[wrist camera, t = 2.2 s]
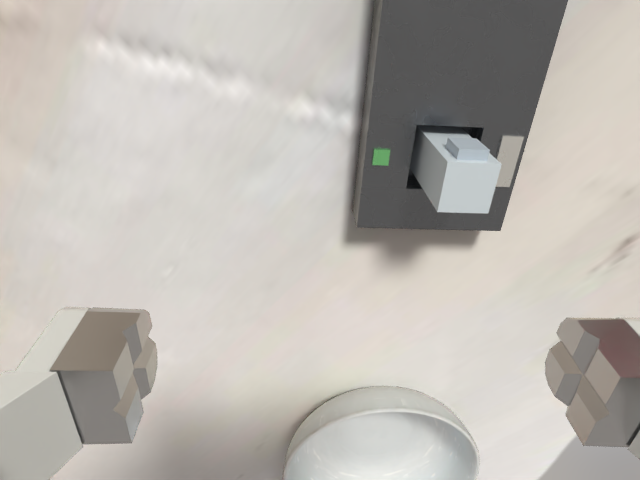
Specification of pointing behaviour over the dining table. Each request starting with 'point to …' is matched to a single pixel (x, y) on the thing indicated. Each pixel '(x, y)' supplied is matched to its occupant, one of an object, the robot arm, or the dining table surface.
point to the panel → (448, 98)
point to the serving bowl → (382, 439)
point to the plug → (454, 169)
